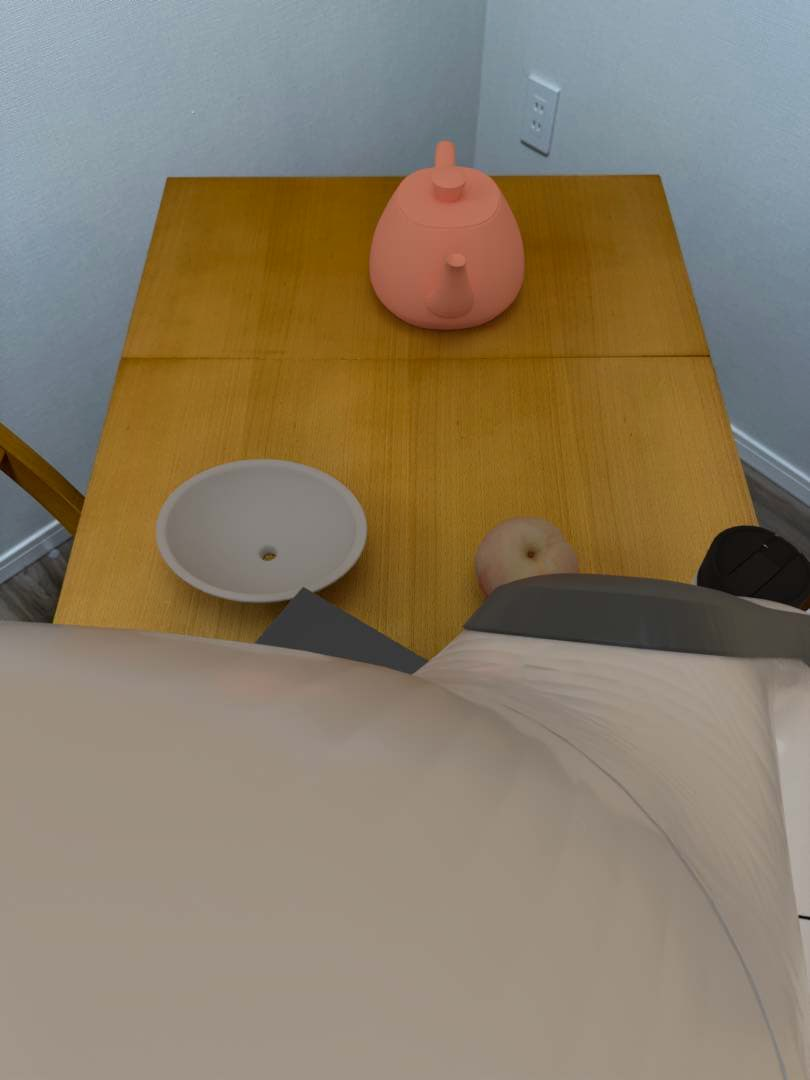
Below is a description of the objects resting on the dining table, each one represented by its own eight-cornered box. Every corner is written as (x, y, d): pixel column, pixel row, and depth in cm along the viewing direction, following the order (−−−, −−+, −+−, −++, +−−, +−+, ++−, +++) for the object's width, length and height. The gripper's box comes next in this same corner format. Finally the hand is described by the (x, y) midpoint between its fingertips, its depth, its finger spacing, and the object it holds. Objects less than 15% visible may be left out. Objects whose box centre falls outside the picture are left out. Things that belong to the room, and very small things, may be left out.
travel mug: (619, 700, 66) (684, 557, 50) (674, 651, 69) (754, 498, 52) (682, 760, 64) (773, 628, 47) (738, 706, 66) (843, 563, 50)
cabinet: (470, 744, 65) (476, 689, 57) (374, 890, 59) (366, 851, 51) (316, 648, 69) (302, 586, 62) (213, 775, 63) (183, 723, 56)
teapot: (533, 370, 87) (549, 259, 76) (369, 373, 87) (361, 264, 76) (512, 221, 102) (523, 110, 91) (371, 225, 102) (365, 114, 91)
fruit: (499, 649, 69) (507, 597, 63) (459, 572, 73) (462, 516, 67) (586, 616, 71) (603, 563, 64) (542, 542, 75) (553, 485, 68)
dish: (144, 613, 72) (127, 581, 67) (200, 481, 80) (188, 446, 76) (349, 648, 69) (344, 617, 65) (386, 509, 77) (384, 474, 73)
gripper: (727, 695, 48) (550, 682, 59) (552, 1048, 38) (380, 953, 49) (778, 766, 50) (597, 741, 61) (624, 1117, 40) (443, 1011, 51)
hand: (499, 838), depth 55 cm, fingers closed, pressing on drawer
